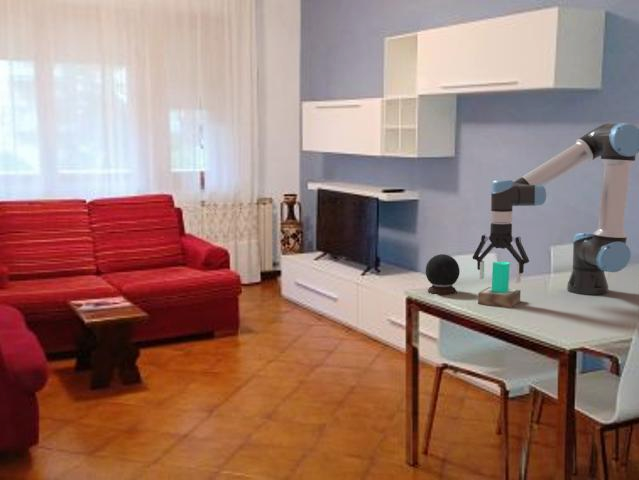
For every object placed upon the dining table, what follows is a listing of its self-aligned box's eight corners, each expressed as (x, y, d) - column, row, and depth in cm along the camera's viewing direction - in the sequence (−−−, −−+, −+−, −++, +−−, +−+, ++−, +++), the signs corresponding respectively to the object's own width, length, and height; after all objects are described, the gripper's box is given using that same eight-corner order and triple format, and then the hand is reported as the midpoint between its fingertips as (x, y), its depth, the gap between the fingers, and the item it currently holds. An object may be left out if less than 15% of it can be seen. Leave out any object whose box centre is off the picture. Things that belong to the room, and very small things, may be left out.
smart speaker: (436, 296, 274) (436, 258, 272) (419, 290, 286) (419, 253, 284) (465, 293, 279) (466, 255, 277) (447, 287, 291) (448, 251, 289)
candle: (507, 289, 266) (508, 257, 264) (509, 292, 260) (511, 260, 258) (490, 289, 266) (491, 257, 265) (492, 292, 260) (494, 259, 259)
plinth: (520, 300, 266) (520, 289, 265) (510, 307, 256) (511, 295, 255) (488, 297, 272) (488, 286, 271) (478, 303, 262) (478, 292, 261)
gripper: (538, 223, 256) (537, 281, 259) (471, 219, 269) (470, 275, 272) (533, 225, 250) (531, 285, 253) (464, 221, 263) (463, 278, 266)
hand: (499, 280), depth 263 cm, fingers open, 13 cm apart
